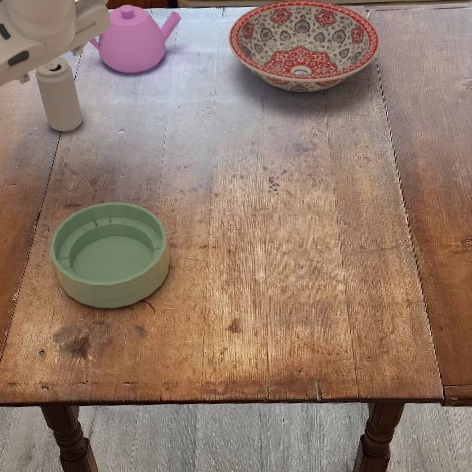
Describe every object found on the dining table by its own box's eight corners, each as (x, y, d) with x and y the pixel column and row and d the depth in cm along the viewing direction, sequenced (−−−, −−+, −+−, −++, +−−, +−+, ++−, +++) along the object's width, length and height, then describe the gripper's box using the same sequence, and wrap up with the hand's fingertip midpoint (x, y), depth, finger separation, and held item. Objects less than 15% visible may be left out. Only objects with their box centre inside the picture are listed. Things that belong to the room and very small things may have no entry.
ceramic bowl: (368, 125, 128) (375, 87, 121) (216, 109, 131) (215, 71, 124) (376, 43, 145) (383, 5, 138) (242, 30, 148) (242, -6, 142)
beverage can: (65, 138, 126) (51, 79, 116) (42, 125, 128) (25, 67, 118) (90, 121, 129) (78, 63, 119) (66, 109, 131) (52, 51, 121)
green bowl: (49, 310, 101) (40, 283, 96) (69, 229, 111) (61, 201, 106) (164, 312, 101) (161, 285, 96) (173, 230, 111) (170, 202, 106)
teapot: (192, 66, 140) (189, 15, 131) (96, 83, 136) (86, 33, 128) (174, 32, 148) (170, -18, 139) (84, 48, 144) (74, -2, 136)
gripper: (95, -36, 94) (95, 17, 108) (-37, 29, 90) (-20, 76, 103) (120, 3, 95) (117, 51, 108) (-11, 70, 90) (3, 112, 104)
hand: (49, 64), depth 106 cm, fingers open, 8 cm apart
